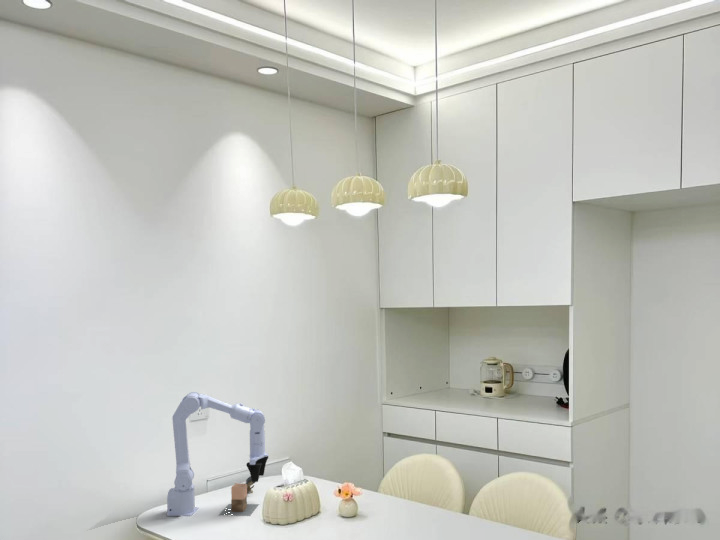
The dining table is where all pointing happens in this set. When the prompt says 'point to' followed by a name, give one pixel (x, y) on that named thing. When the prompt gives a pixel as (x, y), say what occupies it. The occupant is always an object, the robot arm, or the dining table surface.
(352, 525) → the dining table surface
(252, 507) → the mat
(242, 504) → the walnut block
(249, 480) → the eagle figurine
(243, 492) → the terracotta block
